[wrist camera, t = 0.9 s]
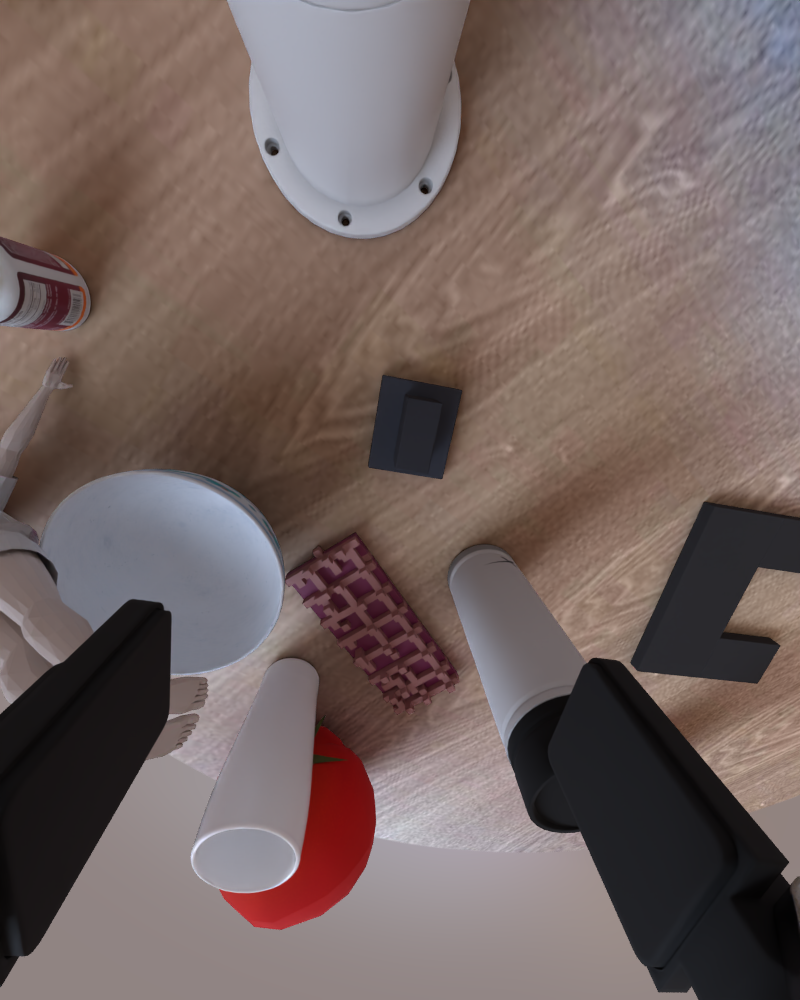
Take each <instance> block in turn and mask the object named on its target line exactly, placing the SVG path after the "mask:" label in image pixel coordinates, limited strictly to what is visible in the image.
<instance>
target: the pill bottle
mask: <svg viewBox="0 0 800 1000" xmlns="http://www.w3.org/2000/svg"><path fill="white" fill-rule="evenodd" d="M90 306H91V300H90V294H89V291H88V288H87V285H86V283H85V281H84V279H83V277H82V276H81V275H80V273H79V272H78V271H77V270H76V269H75V268H74V267H73V266H72V265H71V264H70V263H68V262H67V261H65V260H64V259H62V258H60V257H58V256H56V255H54V254H51V253H48V252H45V251H42V250H39V249H36V248H33V247H30V246H27V245H24V244H21V243H18V242H15V241H12V240H9V239H7V238H3V237H0V326H11V327H23V328H32V329H43V330H55V331H67V330H72V329H75V328H77V327H79V326H80V325H81V324H82V323H83V322H84V321H85V320H86V319H87V317H88V315H89V312H90Z"/></svg>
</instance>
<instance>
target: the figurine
mask: <svg viewBox="0 0 800 1000" xmlns="http://www.w3.org/2000/svg"><path fill="white" fill-rule="evenodd" d="M61 359H62V358H61V357H59V358H58V360H57V361H56V359H54V360H53V361H52V363H51V365H50V366H49V368H48V370H47V372H46V374H45V377H44V380H43V382H42V384H43V386H42V387H41V388H40V389H39V390H38V392H37V393H36V394H35V395H34V397H33V398H32V399H31V400H30V402H29V403H28V404H27V405H26V407H25V408H24V409H23V410H22V412H21V413H20V414H19V415H18V417H17V418H16V419H15V421H14V422H13V423H12V424H11V426H10V427H9V428H8V429H7V431H6V432H5V434H4V436H3V438H2V440H1V443H0V669H1V673H0V688H1V690H2V693H3V695H4V697H5V699H6V700H7V701H8V702H9V703H10V704H12V703H13V702H14V701H15V700H16V699H17V698H18V697H19V696H20V695H22V694H23V693H24V692H25V691H26V690H27V689H28V688H29V687H30V686H31V685H32V684H33V683H34V682H35V681H37V680H38V679H39V678H40V677H41V676H42V675H43V674H44V673H45V672H46V671H48V670H49V669H50V668H52V667H53V666H54V665H57V664H59V663H62V662H64V661H65V660H66V659H67V658H68V657H69V656H70V655H71V654H72V653H73V652H74V651H75V650H76V649H77V648H78V647H80V646H81V645H82V644H83V643H84V642H85V641H86V640H87V639H88V638H89V637H90V636H91V635H92V634H93V633H94V631H93V630H92V628H91V626H90V624H89V622H88V621H87V620H86V619H85V618H83V617H82V616H80V615H79V614H78V613H76V612H75V611H74V610H72V609H71V608H69V607H68V606H67V605H65V604H64V603H63V602H62V600H61V597H60V595H59V592H58V589H57V587H56V586H57V579H58V572H57V570H56V568H55V566H54V564H53V563H52V561H51V560H50V559H49V558H48V556H47V555H46V554H45V553H44V552H43V550H42V549H41V548H40V547H39V545H38V543H39V538H38V536H37V533H36V531H35V530H34V529H33V528H31V527H30V526H29V525H27V524H24V523H22V522H19V521H17V520H16V519H14V518H12V517H11V516H9V515H8V514H6V513H5V512H3V510H4V508H5V506H6V503H7V501H8V499H9V497H10V495H11V493H12V491H13V489H14V487H15V484H16V482H17V480H18V478H17V477H14V476H13V474H14V472H15V469H16V467H17V464H18V461H19V458H20V455H21V453H22V452H23V451H24V450H25V448H26V447H27V446H28V444H29V442H30V440H31V439H32V437H33V435H34V433H35V430H36V428H37V425H38V423H39V420H40V418H41V415H42V413H43V410H44V408H45V405H46V403H47V400H48V398H49V395H50V393H51V392H52V391H53V390H54V389H65V388H72V387H73V385H72V384H65V383H63V382H61V380H62V377H63V375H64V373H65V371H66V368H67V366H68V364H69V361H66V358H65V357H64V358H63V359H62V361H61ZM65 361H66V362H65ZM55 362H56V363H55ZM60 362H61V363H60ZM64 363H65V364H64ZM59 364H60V365H59ZM39 555H40V558H39ZM207 681H208V680H207V679H206V678H203V677H181V678H176V679H170V710H169V714H182V713H186V712H188V711H191V710H196V709H199V708H201V707H203V706H204V704H205V700H204V699H206V698H207V697H208V695H207V694H206V693H207V692H208V689H207V687H208V684H207ZM198 720H199V716H198V715H197V714H188V715H182V716H179V717H176V718H174V719H171V720H168V721H167V722H166V724H165V726H164V728H163V730H162V732H161V734H160V736H159V737H158V739H157V741H156V742H155V744H154V746H153V748H152V749H151V751H150V753H149V755H148V756H147V758H146V760H148V759H153V758H158V757H162V756H165V755H166V754H168V753H170V752H172V751H173V750H175V749H179V748H181V747H182V745H183V744H182V743H183V742H185V741H187V738H188V737H187V736H189V735H191V734H192V731H191V729H195V727H196V724H194V723H196V722H198Z"/></svg>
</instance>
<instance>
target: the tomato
mask: <svg viewBox="0 0 800 1000" xmlns="http://www.w3.org/2000/svg"><path fill="white" fill-rule="evenodd" d="M324 718H325V716H324V717H323V718H322V719H321V720H320V721H319V723H318V724H317V726H315V735H314V752H313V769H312V784H311V796H310V805H309V812H308V819H307V825H306V831H305V837H304V842H303V847H302V852H301V858H300V863H299V866H298V868H297V870H296V872H295V873H294V874H293V875H292V877H291V878H289V879H288V880H287V881H286V882H284V883H283V884H281V885H279V886H277V887H275V888H272V889H269V890H266V891H261V892H255V893H235V892H229V891H224V890H221V889H219V890H220V892H221V893H222V896H223V897H224V899H225V900H226V901H227V902H228V903H229V904H230V905H231V906H232V907H233V908H234V909H235V910H237V911H238V912H239V913H240V914H241V915H242V916H243V917H244V918H245V919H246V920H247V921H249V922H250V923H251V924H252V925H253V926H254V927H260V928H269V929H280V930H282V929H285V928H287V927H290V926H293V925H296V924H299V923H302V922H304V921H307V920H310V919H313V918H316V917H318V916H321V915H322V914H324V913H325V912H326V911H327V910H329V909H330V908H331V907H332V906H334V905H335V904H336V903H338V902H339V901H340V900H341V899H343V898H344V897H345V896H347V895H348V894H349V892H350V891H351V889H352V888H353V886H354V885H355V883H356V881H357V880H358V878H359V877H360V875H361V874H362V872H363V870H364V869H365V867H366V864H367V861H368V858H369V855H370V852H371V849H372V845H373V839H374V833H375V826H376V811H375V799H374V790H373V787H372V785H371V782H370V780H369V777H368V775H367V773H366V770H365V768H364V765H363V763H362V761H361V759H360V758H359V757H358V756H357V755H356V754H355V753H354V752H353V751H352V750H351V749H350V748H346V747H345V746H344V744H343V743H342V741H341V739H340V738H338V737H337V736H336V735H335V734H334V733H332V732H331V731H330V730H329V729H328V728H327V727H324V726H321V724H322V722H323V720H324ZM218 777H219V776H218ZM217 779H218V778H217Z"/></svg>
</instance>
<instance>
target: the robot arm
mask: <svg viewBox="0 0 800 1000" xmlns="http://www.w3.org/2000/svg"><path fill="white" fill-rule="evenodd" d="M227 2H228V4H229V7H230V9H231V12H232V14H233V17H234V19H235V22H236V24H237V27H238V29H239V32H240V34H241V37H242V39H243V42H244V44H245V46H246V49H247V51H248V54H249V56H250V59H251V61H252V63H251V71H250V79H249V98H250V113H251V118H252V124H253V129H254V134H255V137H256V140H257V143H258V146H259V149H260V152H261V155H262V158H263V160H264V162H265V164H266V166H267V168H268V170H269V172H270V174H271V176H272V178H273V179H274V181H275V182H276V184H277V186H278V187H279V189H280V190H281V192H282V194H283V195H284V196H285V197H286V198H287V200H288V201H289V202H290V203H291V204H292V205H293V206H294V207H295V209H296V210H297V211H298V212H300V213H301V214H302V215H303V216H305V217H306V218H307V219H308V220H310V221H311V222H312V223H313V224H315V225H317V226H319V227H321V228H323V229H325V230H327V231H328V232H330V233H333V234H337V235H340V236H344V237H347V238H358V239H370V238H376V237H383V236H386V235H389V234H391V233H394V232H396V231H399V230H401V229H403V228H404V227H406V226H407V225H409V224H410V223H411V222H413V221H414V220H416V219H417V218H418V217H419V216H420V215H421V214H422V213H423V212H424V211H425V210H426V209H427V208H428V207H429V206H430V205H431V203H432V202H433V200H434V199H435V197H436V196H437V194H438V193H439V191H440V190H441V188H442V186H443V184H444V182H445V180H446V177H447V175H448V173H449V171H450V168H451V165H452V162H453V159H454V156H455V153H456V150H457V145H458V139H459V134H460V128H461V94H460V85H459V77H458V73H457V69H456V65H455V62H454V59H455V55H456V52H457V48H458V44H459V40H460V37H461V33H462V29H463V26H464V22H465V18H466V14H467V11H468V7H469V3H470V0H227ZM273 150H278V151H279V153H278V154H277V155H275V156H272V151H273ZM423 187H425V188H427V190H428V193H427V194H423V193H422V192H421V188H423ZM344 219H348V220H349V222H350V223H349V225H348V226H344V225H342V220H344ZM171 628H172V614H171V612H170V611H166V610H164V606H163V604H162V603H161V602H154V601H146V600H138V599H130V600H128V601H127V602H126V603H124V604H123V605H122V606H121V607H120V608H119V609H118V610H117V611H116V612H115V613H114V614H113V615H112V616H111V617H110V618H109V619H108V620H107V621H106V622H105V623H104V624H103V625H101V626H100V627H99V628H98V629H97V630H96V631H95V632H94V633H93V634H92V635H91V636H90V637H89V638H88V639H87V640H86V641H85V642H84V643H83V644H82V645H81V646H80V647H78V648H77V649H76V650H75V651H74V652H73V653H72V654H71V655H70V656H69V657H68V658H67V659H66V660H65V661H64V662H62V663H59V664H57V665H54V666H53V667H52V668H50V669H49V670H48V671H46V672H45V673H44V674H43V675H42V676H41V677H40V678H39V679H38V680H37V681H35V682H34V683H33V684H32V685H31V686H30V687H29V688H28V689H27V690H26V691H25V692H24V693H23V694H22V695H20V696H19V697H18V698H17V699H16V700H15V701H14V702H13V703H12V704H11V705H10V706H9V707H8V708H7V709H6V710H5V711H3V712H2V713H1V714H0V987H1V986H2V984H3V983H4V981H5V979H6V978H7V976H8V974H9V972H10V971H11V969H12V968H13V966H14V964H15V963H16V961H17V959H18V957H19V956H28V955H29V954H31V952H33V951H34V949H35V948H36V947H37V945H38V944H39V943H40V941H41V939H42V938H43V936H44V934H45V933H46V931H47V929H48V928H49V926H50V924H51V923H52V920H53V919H54V917H55V916H56V914H57V912H58V910H59V909H60V907H61V905H62V903H63V902H64V900H65V898H66V897H67V895H68V893H69V891H70V890H71V888H72V886H73V884H74V883H75V881H76V879H77V878H78V876H79V874H80V872H81V871H82V869H83V867H84V865H85V864H86V862H87V860H88V858H89V857H90V855H91V853H92V851H93V850H94V848H95V846H96V844H97V843H98V841H99V839H100V838H101V836H102V834H103V832H104V831H105V829H106V827H107V825H108V824H109V822H110V820H111V819H112V817H113V815H114V813H115V812H116V810H117V808H118V807H119V805H120V803H121V801H122V800H123V798H124V796H125V794H126V793H127V791H128V789H129V787H130V785H131V784H132V782H133V780H134V779H135V777H136V775H137V774H138V772H139V770H140V768H141V767H142V765H143V763H144V761H145V760H146V758H147V756H148V755H149V753H150V751H151V749H152V748H153V746H154V744H155V742H156V741H157V739H158V737H159V736H160V734H161V732H162V730H163V728H164V726H165V724H166V722H167V719H168V715H169V710H170V673H171ZM548 758H549V762H550V764H551V767H552V769H553V771H554V773H555V776H556V778H557V780H558V782H559V785H560V787H561V789H562V791H563V794H564V796H565V798H566V800H567V803H568V805H569V807H570V809H571V812H572V814H573V816H574V818H575V820H576V823H577V825H578V827H579V829H580V832H581V834H582V836H583V838H584V841H585V843H586V845H587V847H588V850H589V851H590V854H591V856H592V859H593V861H594V863H595V865H596V867H597V870H598V872H599V874H600V876H601V878H602V881H603V883H604V885H605V888H606V890H607V892H608V894H609V897H610V899H611V901H612V903H613V905H614V908H615V910H616V912H617V914H618V917H619V919H620V921H621V923H622V925H623V928H624V930H625V932H626V935H627V937H628V939H629V941H630V944H631V946H632V948H633V950H634V952H635V954H636V956H637V957H638V959H639V960H640V962H641V963H642V964H644V965H645V966H647V968H648V970H649V973H650V975H651V977H652V979H653V981H654V984H655V986H656V988H657V990H658V992H687V991H688V990H689V989H690V988H691V986H692V988H693V990H694V992H695V994H696V996H697V997H698V1000H800V877H797V878H796V879H795V880H794V881H793V883H792V884H791V885H789V884H788V882H787V881H786V880H785V878H784V877H783V876H782V875H781V872H782V871H783V870H784V868H785V867H786V866H787V864H788V863H789V861H788V860H787V859H786V858H785V857H784V855H783V854H782V853H781V852H780V851H779V849H778V848H777V847H776V846H775V845H774V843H773V842H772V841H771V840H770V839H769V838H768V836H767V835H766V834H765V833H764V831H763V830H762V829H761V828H760V827H759V826H758V824H757V823H756V822H755V821H754V820H753V818H752V817H751V816H750V815H749V814H748V812H747V811H746V810H745V809H744V808H743V806H742V805H741V804H740V803H739V802H738V800H737V799H736V798H735V797H734V796H733V795H732V793H731V792H730V791H729V790H728V789H727V787H726V786H725V785H724V784H723V783H722V781H721V780H720V779H719V778H718V777H717V775H716V774H715V773H714V772H713V771H712V770H711V768H710V767H709V766H708V765H707V764H706V762H705V761H704V760H703V759H702V758H701V756H700V755H699V754H698V753H697V752H696V750H695V749H694V748H693V747H692V746H691V745H690V743H689V742H688V741H687V740H686V739H685V737H684V736H683V735H682V734H681V733H680V731H679V730H678V729H677V728H676V727H675V725H674V724H673V723H672V722H671V721H670V720H669V718H668V717H667V716H666V715H665V714H664V712H663V711H662V710H661V709H660V708H659V706H658V705H657V704H656V703H655V702H654V700H653V699H652V698H651V697H650V696H649V695H648V693H647V692H646V691H645V690H644V689H643V687H642V686H641V685H640V684H639V683H638V681H637V680H636V679H635V678H634V677H633V675H632V674H631V673H630V672H629V671H628V670H627V668H626V667H625V666H624V665H623V664H622V663H621V662H619V661H617V660H609V659H602V658H592V659H591V660H590V661H589V662H588V663H586V664H584V665H583V667H582V669H581V671H580V673H579V675H578V678H577V680H576V682H575V685H574V687H573V689H572V692H571V694H570V696H569V699H568V701H567V703H566V706H565V708H564V710H563V713H562V715H561V717H560V720H559V722H558V724H557V727H556V729H555V731H554V734H553V736H552V738H551V741H550V743H549V746H548Z"/></svg>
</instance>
